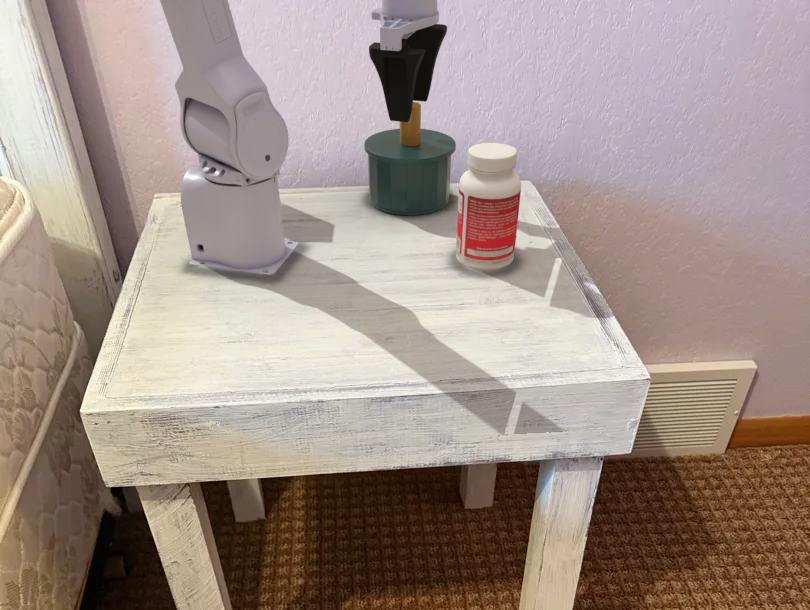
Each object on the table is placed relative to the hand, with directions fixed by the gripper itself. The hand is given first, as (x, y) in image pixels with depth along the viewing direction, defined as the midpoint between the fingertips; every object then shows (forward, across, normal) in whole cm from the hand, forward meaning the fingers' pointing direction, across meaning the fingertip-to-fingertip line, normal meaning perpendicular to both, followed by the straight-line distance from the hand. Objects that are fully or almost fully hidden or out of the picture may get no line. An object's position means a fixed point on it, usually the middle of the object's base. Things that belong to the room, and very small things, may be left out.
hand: (409, 110), depth 86 cm
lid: (+4, 0, 0) cm, 4 cm away
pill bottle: (+10, +14, +12) cm, 21 cm away
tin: (+10, 0, 0) cm, 10 cm away
